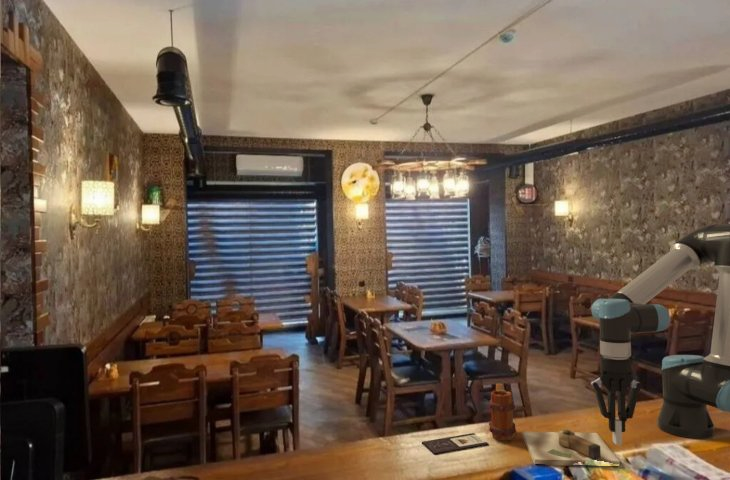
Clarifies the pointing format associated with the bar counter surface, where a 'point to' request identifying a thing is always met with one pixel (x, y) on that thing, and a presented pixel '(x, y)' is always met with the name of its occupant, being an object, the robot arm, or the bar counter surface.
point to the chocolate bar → (454, 443)
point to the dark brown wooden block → (579, 444)
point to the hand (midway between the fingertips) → (617, 443)
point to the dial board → (563, 449)
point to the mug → (502, 414)
